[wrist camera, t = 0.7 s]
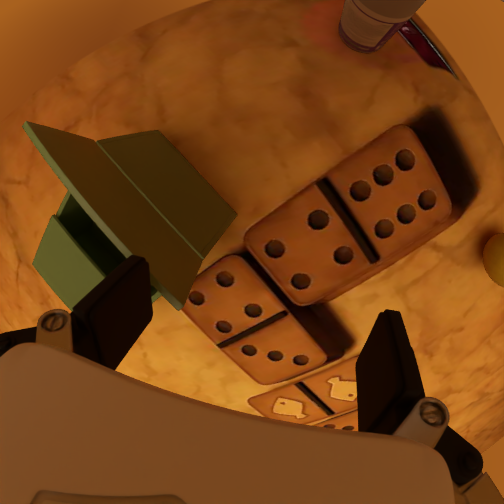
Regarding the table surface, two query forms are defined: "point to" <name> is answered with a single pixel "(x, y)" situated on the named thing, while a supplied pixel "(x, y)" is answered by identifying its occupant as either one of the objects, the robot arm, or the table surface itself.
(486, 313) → the table surface
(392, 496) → the robot arm
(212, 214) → the carton
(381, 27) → the container
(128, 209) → the flap
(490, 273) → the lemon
